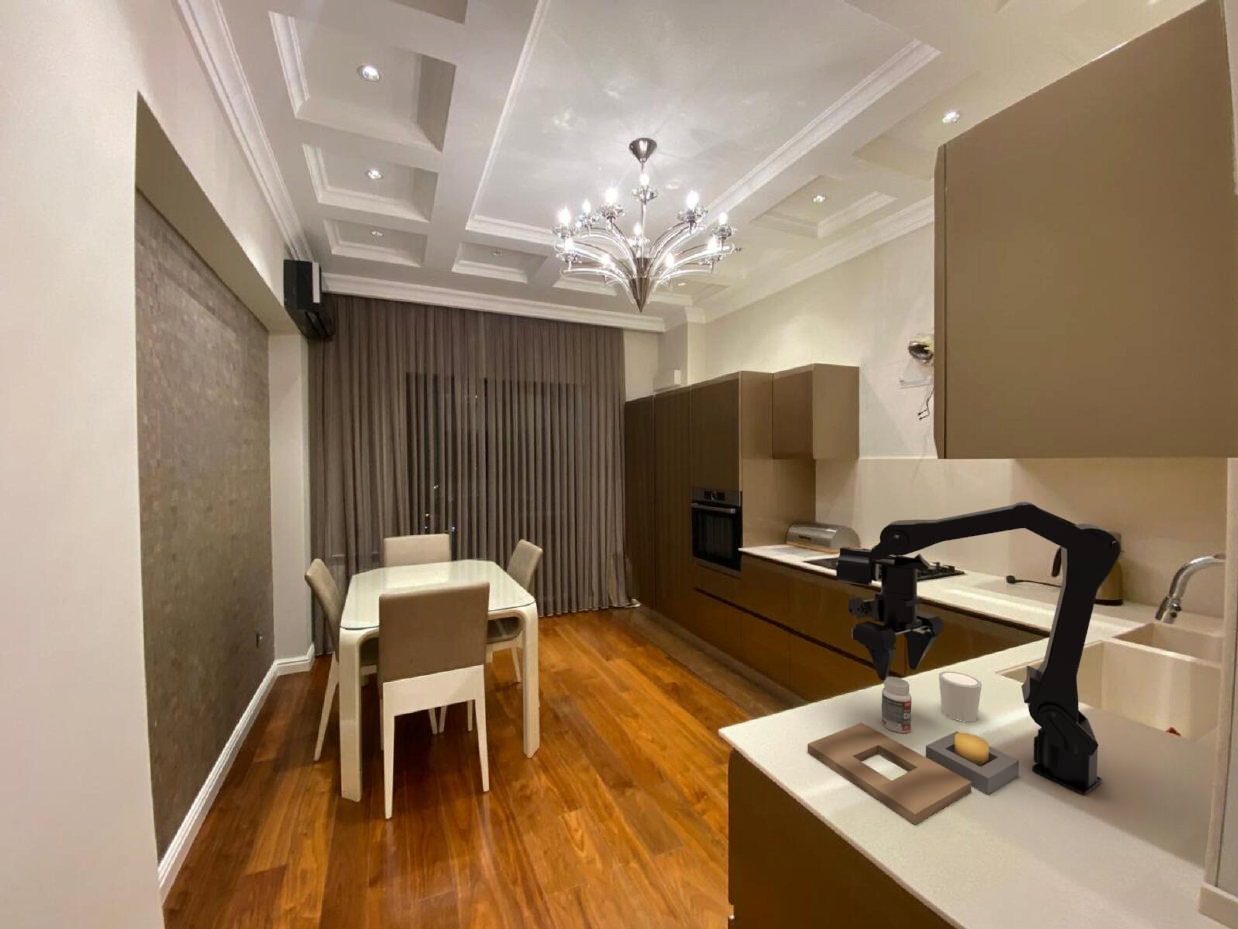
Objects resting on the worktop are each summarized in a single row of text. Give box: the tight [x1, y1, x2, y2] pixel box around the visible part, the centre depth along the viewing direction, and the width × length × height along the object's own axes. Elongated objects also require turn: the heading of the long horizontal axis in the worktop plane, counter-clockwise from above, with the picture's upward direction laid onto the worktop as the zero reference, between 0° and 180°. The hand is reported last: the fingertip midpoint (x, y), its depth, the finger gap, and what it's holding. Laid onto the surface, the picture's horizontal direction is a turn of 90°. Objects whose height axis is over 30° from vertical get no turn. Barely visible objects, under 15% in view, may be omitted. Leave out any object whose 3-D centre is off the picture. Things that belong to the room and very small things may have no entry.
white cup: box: [938, 670, 983, 723], centre depth 94 cm, size 7×7×7 cm
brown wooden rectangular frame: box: [806, 722, 972, 826], centre depth 77 cm, size 18×14×2 cm
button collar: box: [925, 731, 1020, 796], centre depth 78 cm, size 9×9×2 cm
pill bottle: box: [881, 676, 912, 734], centre depth 90 cm, size 5×5×8 cm
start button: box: [955, 732, 990, 766], centre depth 78 cm, size 4×4×2 cm
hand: (897, 674), depth 90 cm, fingers open, 9 cm apart
